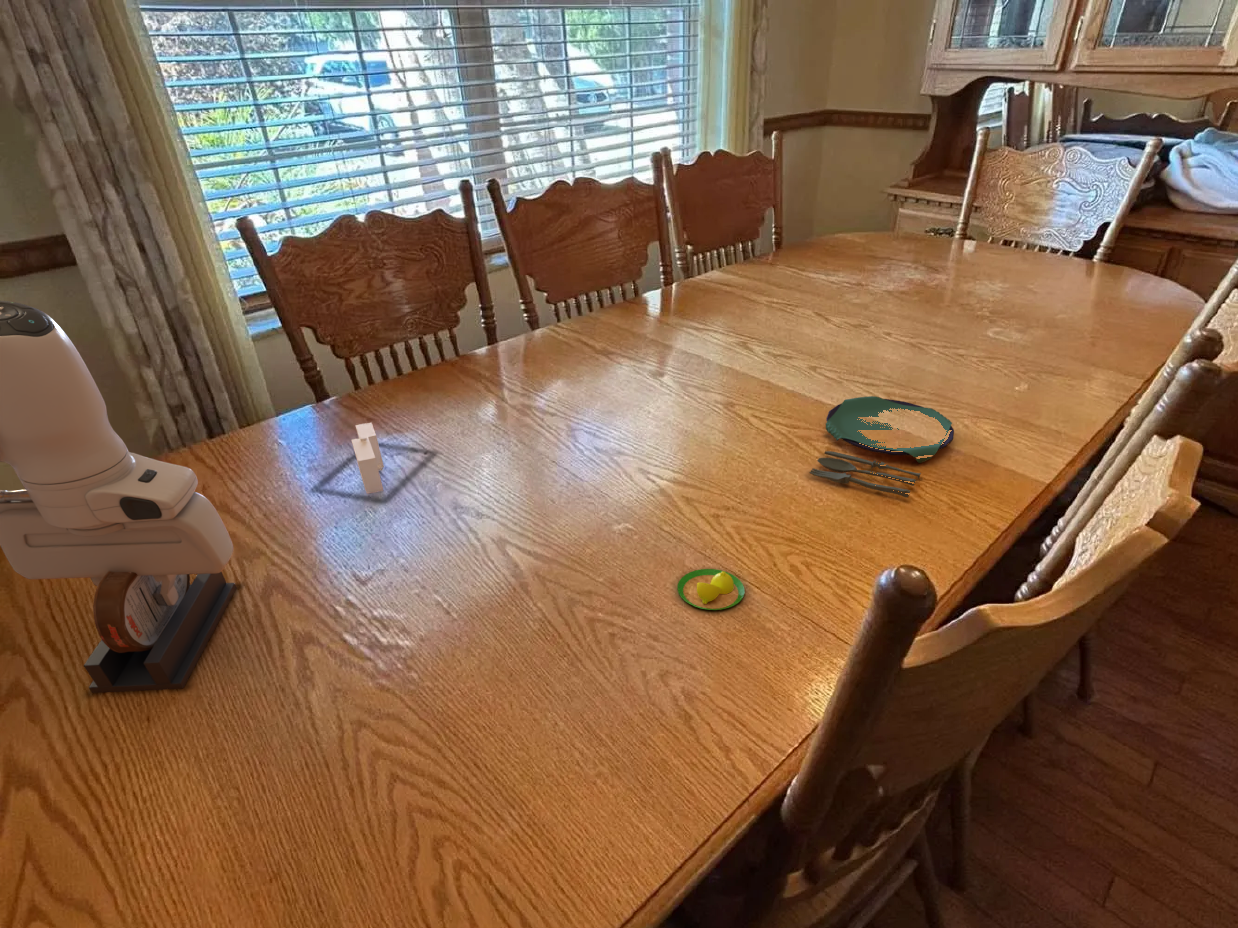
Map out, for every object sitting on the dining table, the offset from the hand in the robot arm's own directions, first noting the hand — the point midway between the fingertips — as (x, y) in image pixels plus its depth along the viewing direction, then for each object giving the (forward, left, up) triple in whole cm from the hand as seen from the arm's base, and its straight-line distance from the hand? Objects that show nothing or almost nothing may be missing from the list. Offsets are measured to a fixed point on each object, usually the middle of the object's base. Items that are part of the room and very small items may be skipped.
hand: (150, 603), depth 79 cm
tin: (0, 0, -3) cm, 3 cm away
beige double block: (+16, +36, -5) cm, 40 cm away
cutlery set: (+93, +39, -5) cm, 101 cm away
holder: (0, 0, -5) cm, 5 cm away
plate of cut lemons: (+61, +4, -5) cm, 61 cm away
